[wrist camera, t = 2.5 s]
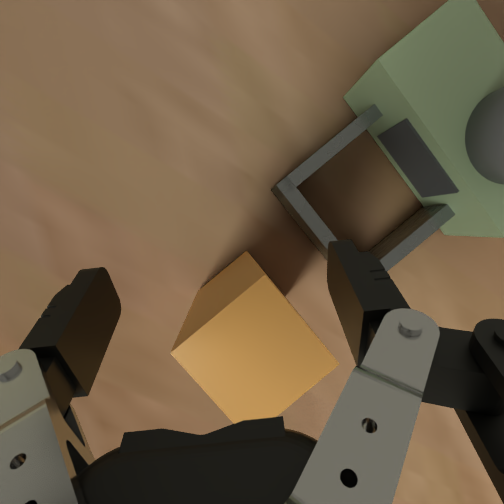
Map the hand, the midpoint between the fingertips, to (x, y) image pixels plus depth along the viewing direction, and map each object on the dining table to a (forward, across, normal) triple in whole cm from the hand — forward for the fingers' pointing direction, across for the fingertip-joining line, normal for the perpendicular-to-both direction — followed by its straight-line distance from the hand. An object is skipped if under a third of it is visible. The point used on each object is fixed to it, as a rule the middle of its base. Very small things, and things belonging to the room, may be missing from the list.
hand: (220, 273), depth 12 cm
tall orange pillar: (+11, 0, -10) cm, 15 cm away
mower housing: (+17, +16, -2) cm, 23 cm away
